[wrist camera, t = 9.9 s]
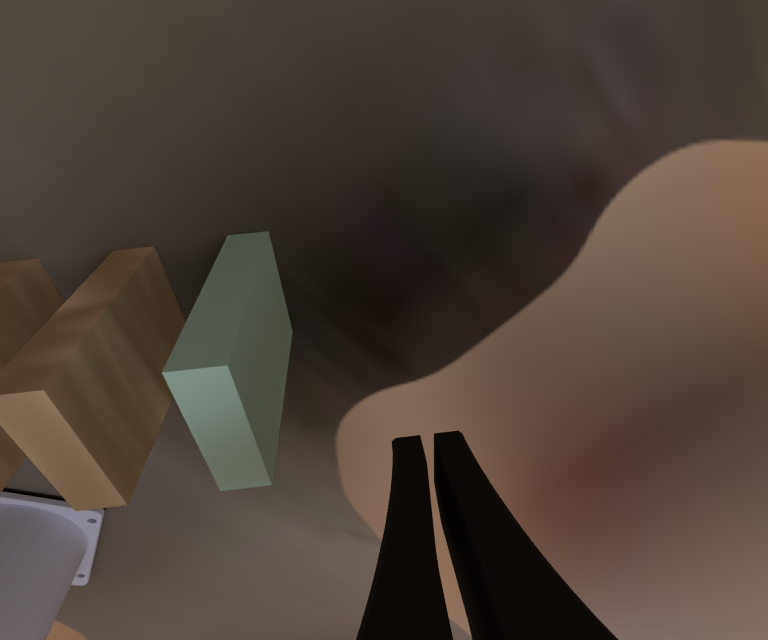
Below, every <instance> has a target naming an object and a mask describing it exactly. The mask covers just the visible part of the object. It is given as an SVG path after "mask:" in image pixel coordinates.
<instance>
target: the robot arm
mask: <svg viewBox="0 0 768 640" xmlns="http://www.w3.org/2000/svg"><path fill="white" fill-rule="evenodd" d="M392 450H393V468H392V481H391V491H390V499H389V505H388V512H387V518H386V524H385V529H384V535H383V539H382V544H381V548H380V553H379V558H378V562H377V567H376V571H375V575H374V579H373V583H372V587H371V590H370V594H369V598H368V601H367V605H366V609H365V612H364V616H363V619H362V622H361V626H360V629H359V632H358V635H357V639H356V640H453V637H452V632H451V627H450V622H449V618H448V613H447V608H446V603H445V598H444V593H443V588H442V584H441V578H440V573H439V568H438V561H437V554H436V547H435V538H434V527H433V518H432V508H431V498H430V489H429V479H428V469H427V462H426V458H425V453H424V449H423V445H422V441H421V437H420V435H417V436H409V437H401V438H396V439H394V440H393V441H392ZM434 484H435V489H436V496H437V501H438V507H439V512H440V518H441V524H442V527H443V531H444V534H445V538H446V542H447V546H448V549H449V553H450V556H451V560H452V564H453V567H454V571H455V574H456V578H457V582H458V586H459V589H460V593H461V596H462V600H463V604H464V607H465V611H466V615H467V618H468V623H469V626H470V631H471V635H472V640H618V639H617V638H616V637H615V636H614V635H613V634H612V633H611V632H610V631H609V630H608V628H607V627H606V626H604V624H603V623H602V622H601V621H600V620H599V619H598V618H597V617H596V616H595V615H594V614H593V613H592V612H591V611H590V609H589V608H588V607H587V606H586V605H585V604H584V603H583V602H582V601H581V600H580V598H579V597H578V596H577V595H576V594H575V593H574V592H573V591H572V589H571V588H570V587H569V586H568V585H567V584H566V582H565V581H564V580H563V579H562V578H561V577H560V575H559V574H558V573H557V572H556V571H555V570H554V569H553V567H552V566H551V565H550V563H549V562H548V561H547V560H546V558H545V557H544V556H543V555H542V554H541V552H540V551H539V550H538V549H537V547H536V546H535V545H534V543H533V542H532V541H531V540H530V538H529V537H528V536H527V534H526V533H525V532H524V530H523V529H522V528H521V526H520V525H519V523H518V522H517V521H516V519H515V518H514V517H513V515H512V514H511V512H510V511H509V509H508V508H507V507H506V505H505V504H504V502H503V501H502V499H501V498H500V497H499V495H498V494H497V492H496V491H495V489H494V488H493V486H492V485H491V483H490V482H489V480H488V478H487V477H486V475H485V474H484V472H483V470H482V469H481V467H480V465H479V464H478V462H477V460H476V459H475V457H474V455H473V453H472V452H471V450H470V448H469V446H468V444H467V442H466V440H465V438H464V436H463V434H462V433H461V432H459V431H452V432H443V433H435V434H434ZM104 513H105V511H104V510H103V509H102V508H100V509H92V510H83V511H75V510H74V509H73V508H72V507H71V506H70V505H69V504H68V502H67V501H60V500H54V499H48V498H41V497H35V496H29V495H22V494H16V493H10V492H4V491H2V492H1V493H0V640H46V638H47V636H48V633H49V631H50V629H51V627H52V625H53V623H54V620H55V618H56V616H57V614H58V612H59V610H60V607H61V605H62V603H63V601H64V599H65V597H66V595H67V592H68V590H69V588H70V586H71V585H78V586H82V585H85V584H87V583H88V581H89V578H90V574H91V570H92V565H93V561H94V557H95V552H96V548H97V544H98V539H99V535H100V531H101V526H102V522H103V518H104Z"/></svg>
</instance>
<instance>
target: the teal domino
mask: <svg viewBox="0 0 768 640" xmlns="http://www.w3.org/2000/svg"><path fill="white" fill-rule="evenodd" d="M292 333H293V331H292V327H291V323H290V319H289V315H288V310H287V306H286V302H285V298H284V294H283V289H282V285H281V281H280V277H279V273H278V269H277V264H276V260H275V256H274V252H273V248H272V244H271V239H270V235H269V231H266V232H256V233H246V234H236V235H228V236H227V238H226V240H225V242H224V244H223V246H222V248H221V250H220V253H219V255H218V257H217V259H216V261H215V263H214V265H213V267H212V269H211V271H210V273H209V275H208V278H207V280H206V282H205V284H204V286H203V288H202V290H201V292H200V294H199V296H198V298H197V300H196V302H195V305H194V307H193V309H192V311H191V313H190V315H189V317H188V319H187V321H186V323H185V325H184V327H183V330H182V332H181V334H180V336H179V338H178V340H177V342H176V344H175V346H174V348H173V350H172V352H171V355H170V357H169V359H168V361H167V363H166V365H165V367H164V369H163V371H162V374H163V376H164V378H165V380H166V382H167V384H168V386H169V388H170V390H171V392H172V394H173V396H174V398H175V400H176V402H177V404H178V406H179V408H180V411H181V413H182V415H183V417H184V419H185V421H186V423H187V425H188V427H189V429H190V431H191V433H192V435H193V437H194V439H195V441H196V443H197V445H198V447H199V449H200V451H201V453H202V455H203V457H204V459H205V461H206V463H207V465H208V467H209V469H210V471H211V473H212V475H213V477H214V479H215V481H216V483H217V485H218V487H219V489H220V491H227V490H235V489H243V488H252V487H260V486H269V485H272V481H273V473H274V466H275V459H276V451H277V444H278V436H279V429H280V422H281V414H282V407H283V399H284V392H285V385H286V377H287V370H288V362H289V355H290V347H291V340H292Z"/></svg>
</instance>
